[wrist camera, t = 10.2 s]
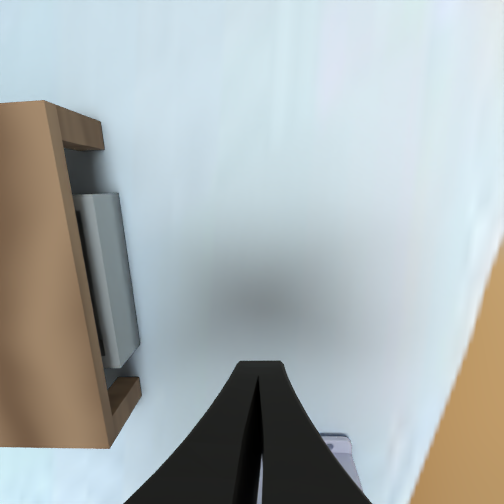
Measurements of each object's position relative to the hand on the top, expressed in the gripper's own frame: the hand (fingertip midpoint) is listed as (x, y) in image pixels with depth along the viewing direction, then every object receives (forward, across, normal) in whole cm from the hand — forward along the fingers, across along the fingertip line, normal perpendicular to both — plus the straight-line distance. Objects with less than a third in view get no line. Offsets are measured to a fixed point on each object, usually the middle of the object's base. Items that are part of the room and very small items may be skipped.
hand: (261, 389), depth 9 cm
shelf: (+9, +13, -1) cm, 16 cm away
